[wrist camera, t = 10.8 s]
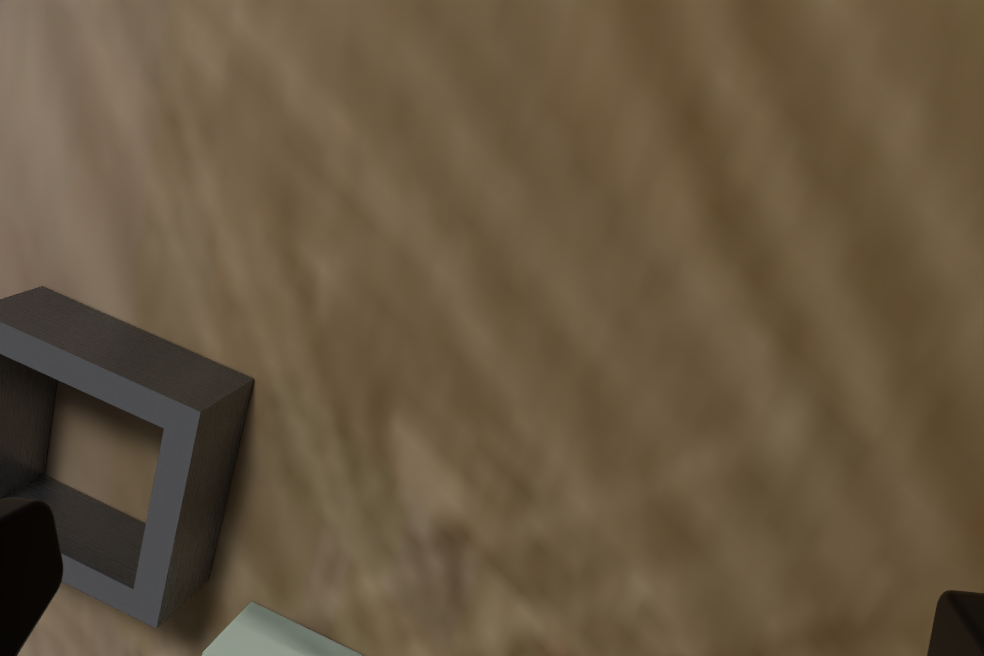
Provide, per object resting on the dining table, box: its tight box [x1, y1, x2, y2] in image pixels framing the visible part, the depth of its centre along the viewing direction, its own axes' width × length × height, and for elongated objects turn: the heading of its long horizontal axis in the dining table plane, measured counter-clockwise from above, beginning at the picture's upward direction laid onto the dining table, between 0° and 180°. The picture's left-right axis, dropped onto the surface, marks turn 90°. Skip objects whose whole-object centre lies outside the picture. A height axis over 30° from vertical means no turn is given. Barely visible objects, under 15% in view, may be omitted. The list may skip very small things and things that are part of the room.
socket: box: [0, 286, 254, 628], centre depth 25 cm, size 7×7×2 cm
